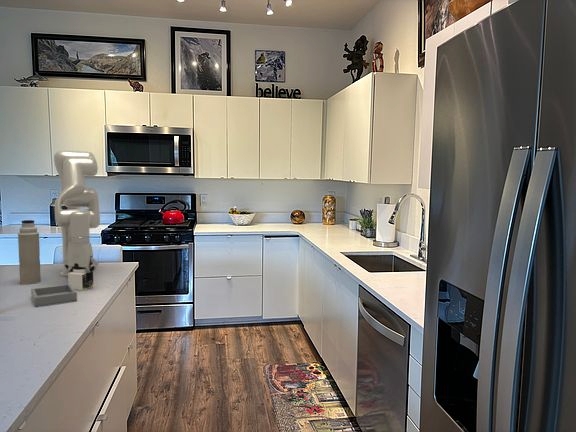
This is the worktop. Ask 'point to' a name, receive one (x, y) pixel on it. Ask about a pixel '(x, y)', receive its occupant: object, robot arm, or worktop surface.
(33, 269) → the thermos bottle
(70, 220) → the robot arm
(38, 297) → the tray
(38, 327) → the worktop surface
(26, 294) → the worktop surface
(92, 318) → the worktop surface
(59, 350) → the worktop surface
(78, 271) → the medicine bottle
